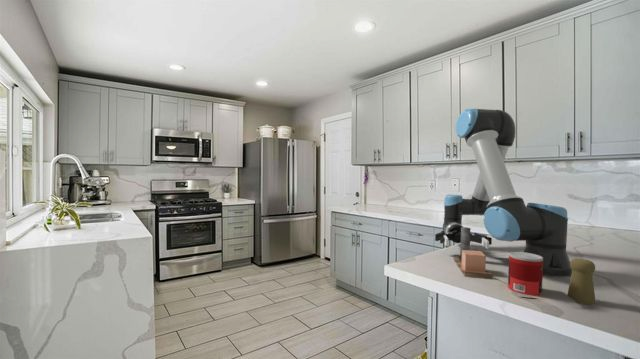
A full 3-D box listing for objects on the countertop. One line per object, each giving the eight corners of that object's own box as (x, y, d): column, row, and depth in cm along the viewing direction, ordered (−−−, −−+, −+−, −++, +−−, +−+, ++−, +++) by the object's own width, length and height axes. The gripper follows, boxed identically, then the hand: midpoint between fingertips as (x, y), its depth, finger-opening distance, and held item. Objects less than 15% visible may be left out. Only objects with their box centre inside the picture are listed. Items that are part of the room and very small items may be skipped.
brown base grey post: (452, 260, 119) (453, 226, 118) (475, 262, 117) (476, 227, 116) (464, 280, 97) (465, 238, 97) (492, 282, 95) (493, 240, 95)
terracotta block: (461, 267, 107) (461, 249, 107) (480, 268, 105) (480, 251, 105) (465, 272, 101) (465, 254, 101) (485, 274, 99) (485, 255, 99)
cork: (560, 295, 86) (562, 256, 86) (581, 295, 87) (582, 256, 86) (581, 305, 80) (582, 263, 80) (602, 304, 81) (604, 262, 80)
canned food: (547, 301, 82) (549, 260, 82) (514, 298, 84) (515, 258, 84) (533, 290, 90) (535, 252, 89) (503, 287, 91) (504, 250, 91)
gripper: (488, 243, 130) (505, 256, 109) (425, 239, 136) (430, 251, 116) (488, 225, 130) (505, 235, 109) (426, 222, 136) (431, 231, 115)
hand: (467, 243), depth 112 cm, fingers open, 13 cm apart
